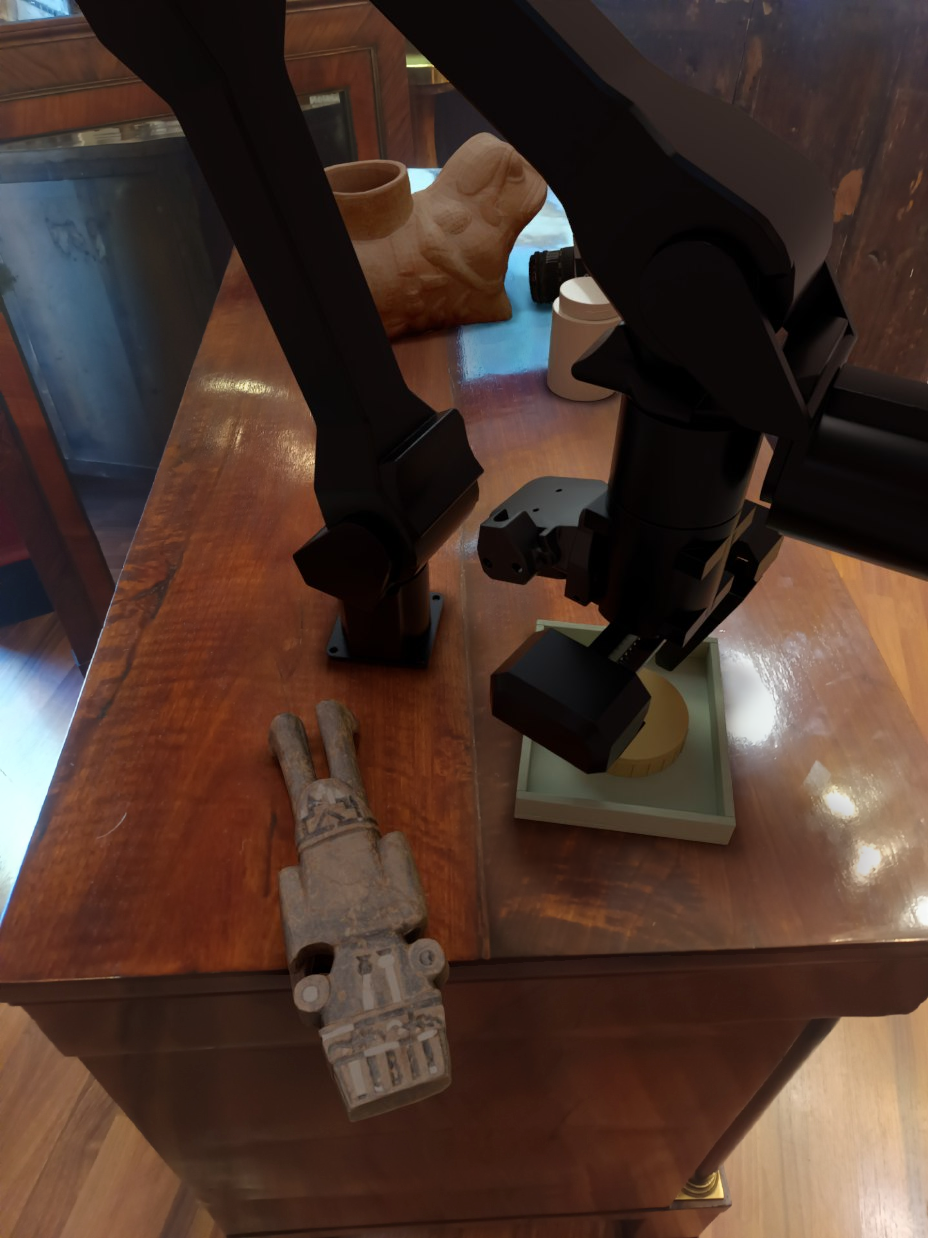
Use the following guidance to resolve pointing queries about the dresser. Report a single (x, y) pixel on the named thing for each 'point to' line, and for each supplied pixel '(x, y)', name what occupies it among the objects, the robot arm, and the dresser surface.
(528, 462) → the dresser surface
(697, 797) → the tray
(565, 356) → the jar
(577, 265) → the camera
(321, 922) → the figurine
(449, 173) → the ceramic vessel
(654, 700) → the lid
